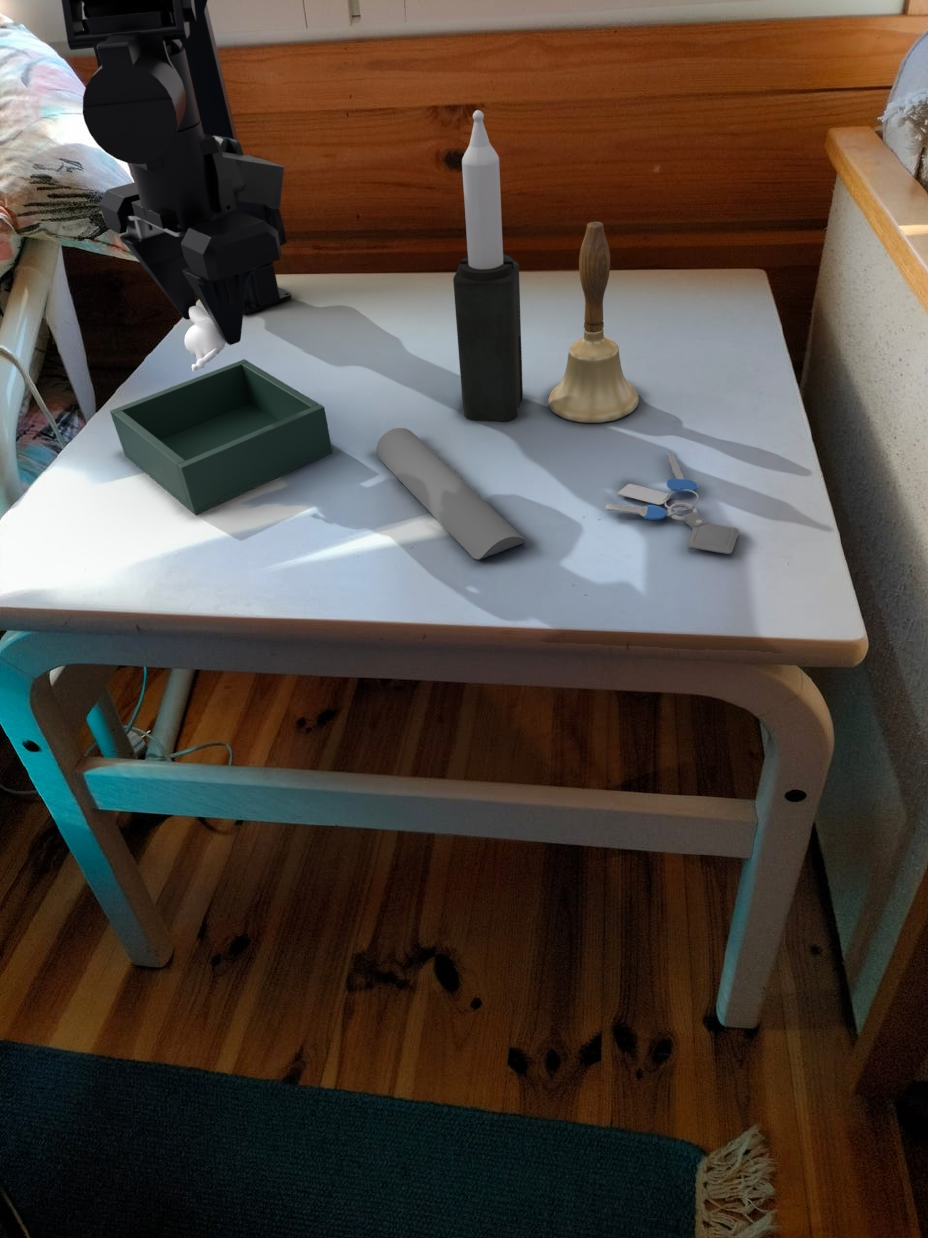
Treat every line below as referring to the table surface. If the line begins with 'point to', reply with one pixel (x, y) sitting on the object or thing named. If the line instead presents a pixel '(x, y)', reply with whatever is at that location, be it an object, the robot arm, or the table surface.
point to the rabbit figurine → (202, 338)
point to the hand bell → (593, 349)
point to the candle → (487, 293)
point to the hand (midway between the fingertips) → (211, 329)
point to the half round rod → (446, 495)
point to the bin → (222, 434)
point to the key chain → (702, 532)
